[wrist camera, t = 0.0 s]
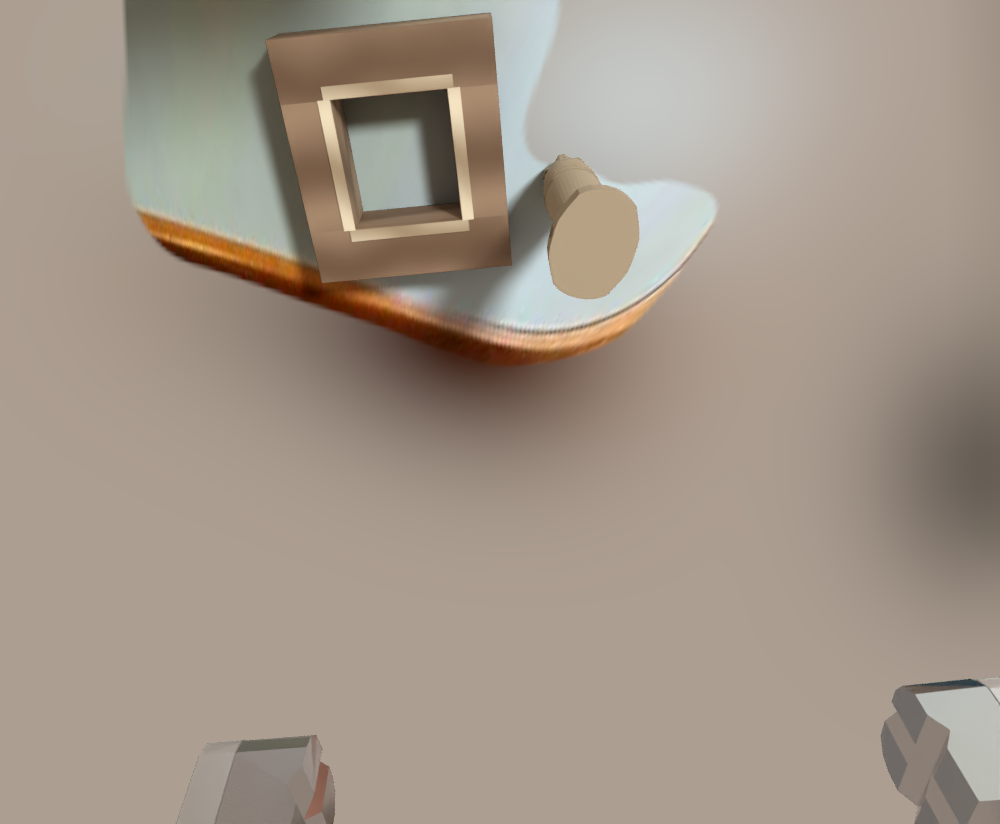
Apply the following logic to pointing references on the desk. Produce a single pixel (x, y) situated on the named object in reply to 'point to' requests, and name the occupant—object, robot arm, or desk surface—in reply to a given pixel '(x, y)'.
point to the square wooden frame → (328, 156)
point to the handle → (587, 230)
